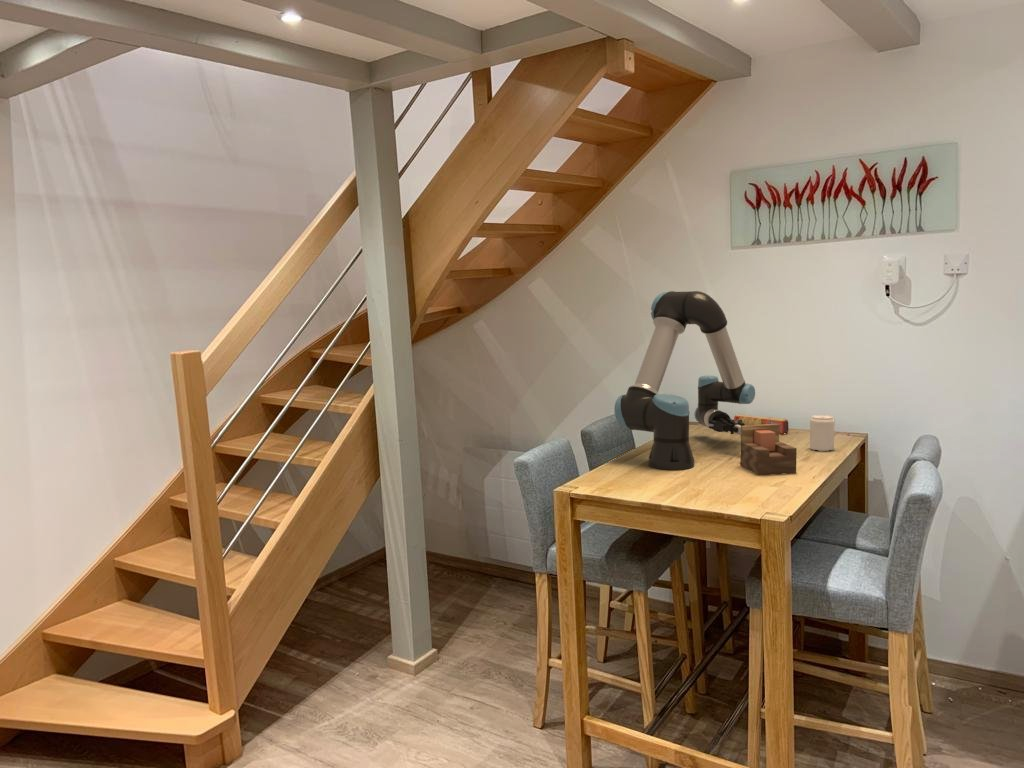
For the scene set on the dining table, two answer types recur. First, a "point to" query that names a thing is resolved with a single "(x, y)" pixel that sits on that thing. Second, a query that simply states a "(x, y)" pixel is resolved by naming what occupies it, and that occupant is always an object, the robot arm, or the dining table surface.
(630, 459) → the dining table surface
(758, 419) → the snack package
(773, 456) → the guide block
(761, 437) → the peg
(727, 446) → the dining table surface
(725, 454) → the dining table surface
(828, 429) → the beverage can
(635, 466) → the dining table surface
